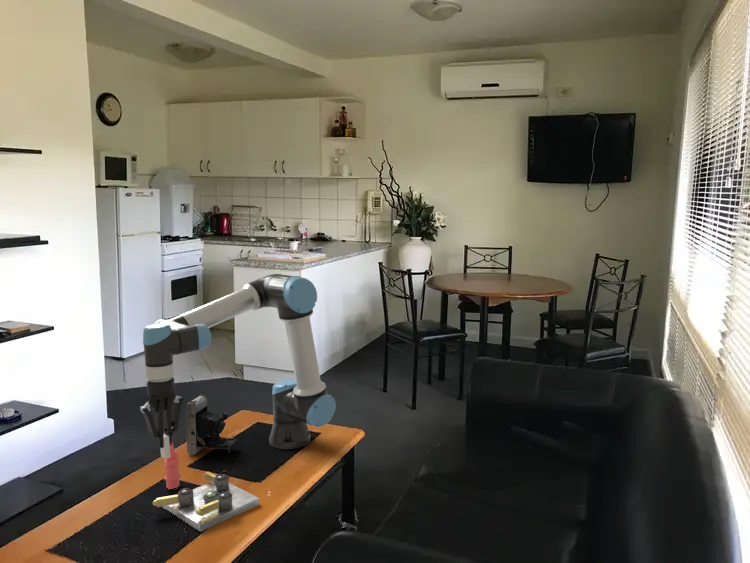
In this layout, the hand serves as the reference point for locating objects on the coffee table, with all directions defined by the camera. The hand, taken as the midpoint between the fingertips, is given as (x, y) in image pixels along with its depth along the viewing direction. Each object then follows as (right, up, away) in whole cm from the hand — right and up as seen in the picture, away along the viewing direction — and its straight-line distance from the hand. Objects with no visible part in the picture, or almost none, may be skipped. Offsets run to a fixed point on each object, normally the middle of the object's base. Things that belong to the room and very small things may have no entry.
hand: (165, 456), depth 181 cm
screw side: (+15, -14, -4) cm, 21 cm away
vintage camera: (+3, -10, +43) cm, 44 cm away
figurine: (-3, -14, +16) cm, 21 cm away
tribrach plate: (+13, -15, +3) cm, 20 cm away
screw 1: (+3, -14, -1) cm, 14 cm away
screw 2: (+11, -12, +12) cm, 20 cm away
